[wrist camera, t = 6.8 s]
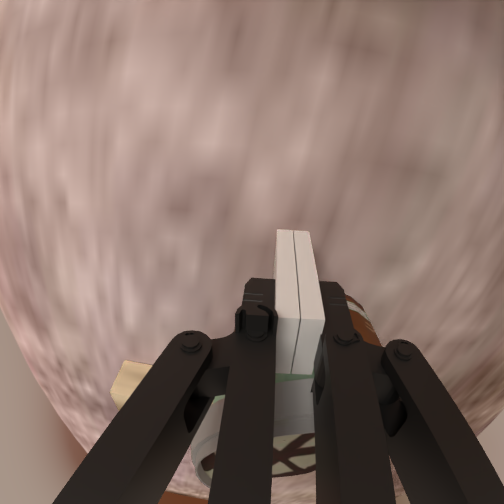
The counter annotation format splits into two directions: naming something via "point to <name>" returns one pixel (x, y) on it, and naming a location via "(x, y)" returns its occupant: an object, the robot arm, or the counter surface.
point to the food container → (278, 418)
